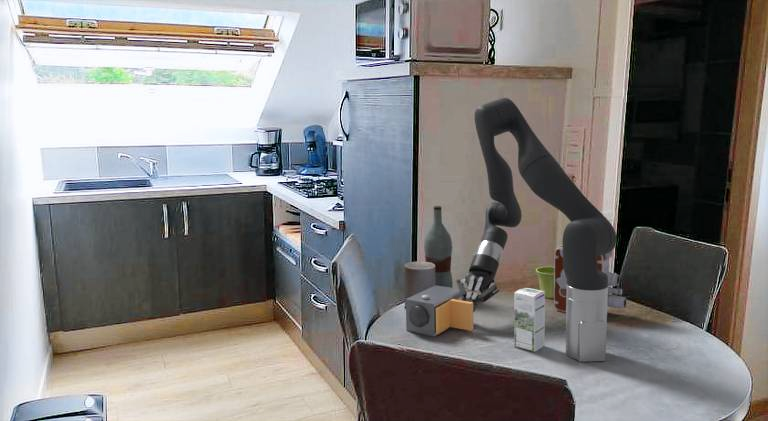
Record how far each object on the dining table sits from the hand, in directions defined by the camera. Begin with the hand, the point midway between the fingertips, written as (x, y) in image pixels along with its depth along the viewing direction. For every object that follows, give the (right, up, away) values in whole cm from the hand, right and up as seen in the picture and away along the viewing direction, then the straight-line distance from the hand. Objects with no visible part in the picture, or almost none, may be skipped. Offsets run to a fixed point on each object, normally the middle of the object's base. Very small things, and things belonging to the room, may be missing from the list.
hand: (467, 313), depth 155 cm
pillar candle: (-11, -3, +22) cm, 25 cm away
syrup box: (+14, -7, -12) cm, 19 cm away
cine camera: (+38, -2, +12) cm, 40 cm away
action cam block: (-8, -4, +6) cm, 11 cm away
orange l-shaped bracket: (-4, -4, -3) cm, 6 cm away
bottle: (-5, -1, +34) cm, 34 cm away
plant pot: (+31, 0, +30) cm, 43 cm away
